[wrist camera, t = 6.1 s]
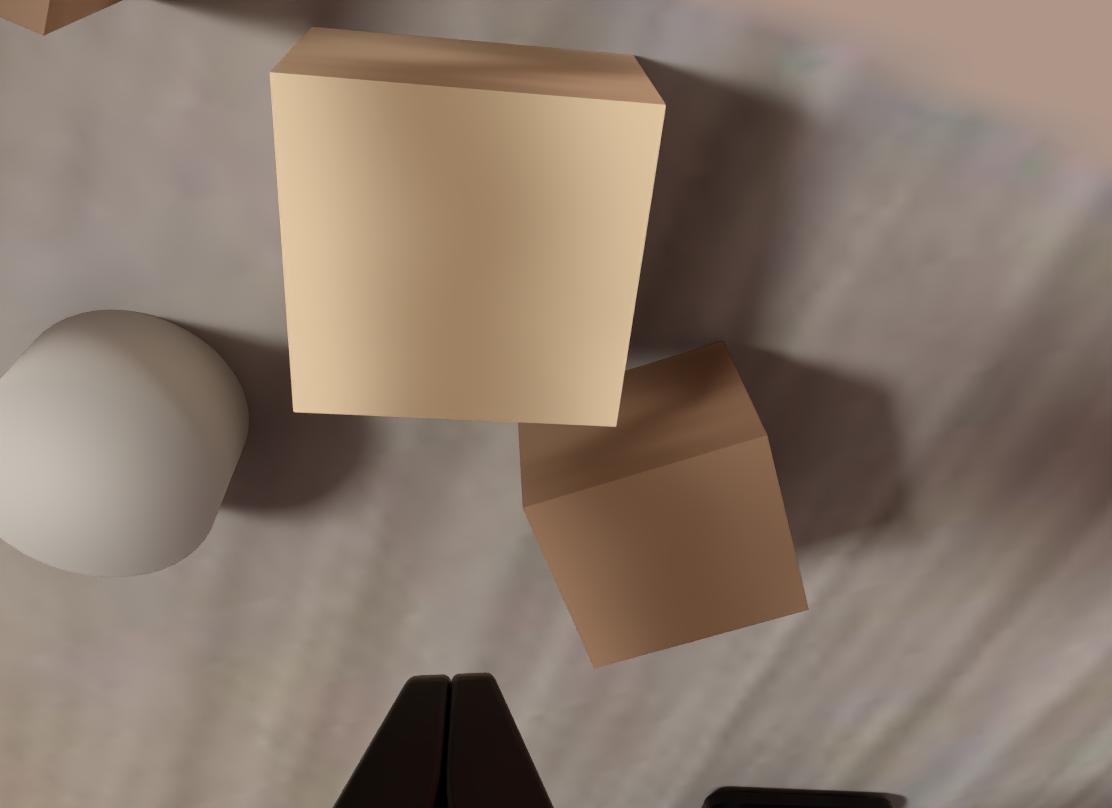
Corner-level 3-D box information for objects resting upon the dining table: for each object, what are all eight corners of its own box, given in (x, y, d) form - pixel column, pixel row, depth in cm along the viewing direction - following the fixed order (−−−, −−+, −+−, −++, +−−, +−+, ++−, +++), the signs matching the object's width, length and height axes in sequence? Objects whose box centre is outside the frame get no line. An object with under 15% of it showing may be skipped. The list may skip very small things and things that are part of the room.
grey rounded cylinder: (247, 321, 20) (212, 392, 17) (252, 499, 22) (222, 584, 20) (4, 295, 19) (-71, 365, 17) (38, 482, 22) (-22, 568, 19)
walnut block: (722, 338, 21) (767, 435, 17) (762, 497, 23) (809, 609, 20) (516, 401, 21) (522, 507, 18) (579, 551, 24) (594, 668, 21)
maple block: (631, 53, 17) (666, 104, 14) (595, 329, 21) (615, 426, 17) (313, 24, 17) (269, 72, 13) (326, 314, 20) (293, 412, 17)
